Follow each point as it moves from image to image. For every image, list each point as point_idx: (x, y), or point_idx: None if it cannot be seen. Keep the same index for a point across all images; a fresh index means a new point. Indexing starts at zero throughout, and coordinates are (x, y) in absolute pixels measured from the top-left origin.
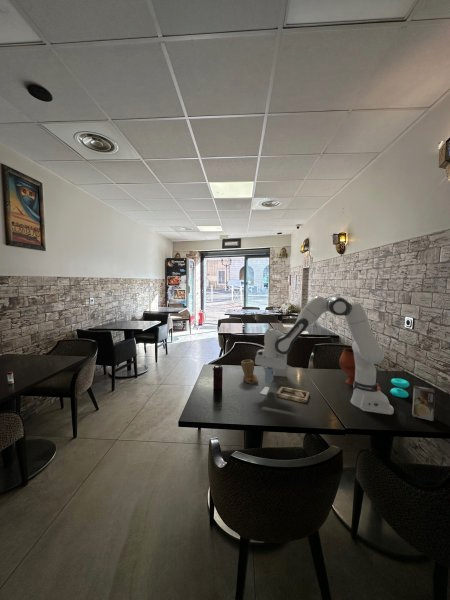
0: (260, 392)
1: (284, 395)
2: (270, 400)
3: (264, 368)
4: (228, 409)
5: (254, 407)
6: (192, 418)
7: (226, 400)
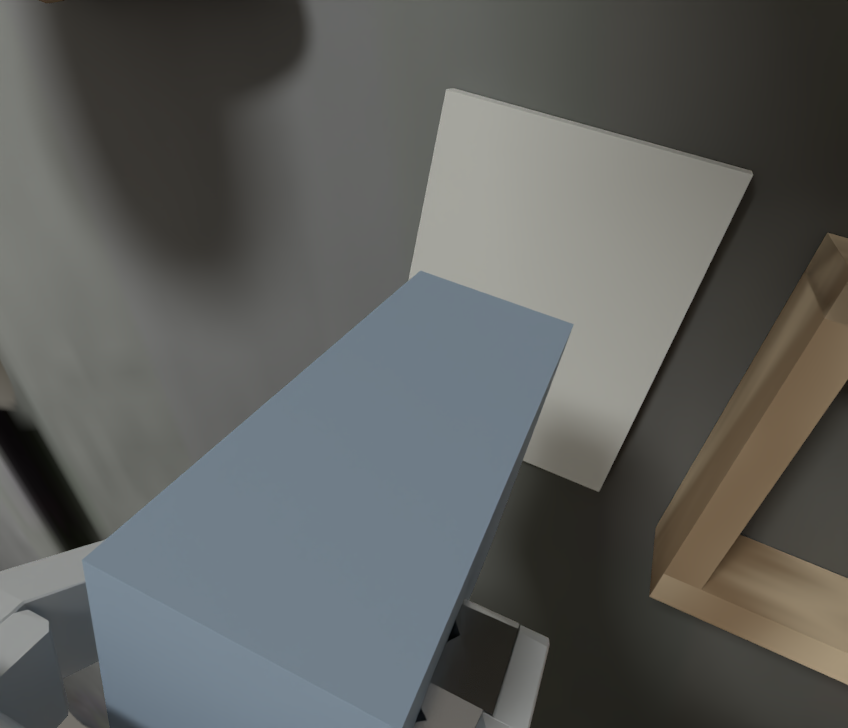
0: None
1: (799, 653)
2: (553, 568)
3: (79, 666)
4: None
5: None
6: (90, 712)
7: None
